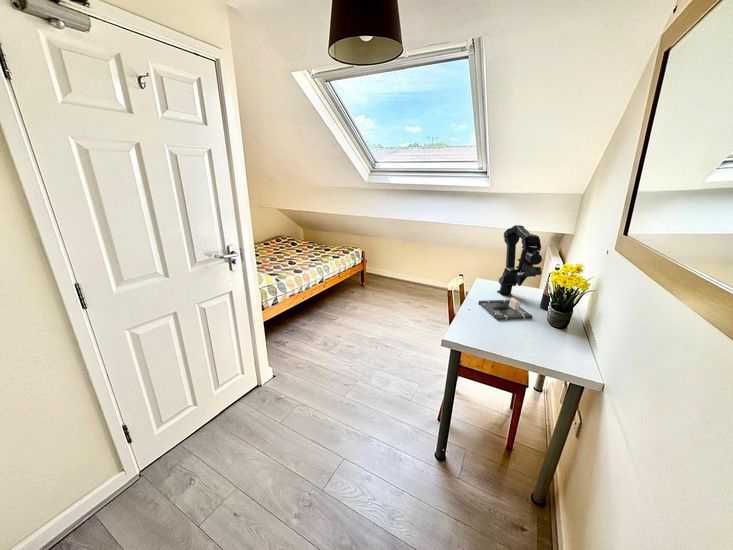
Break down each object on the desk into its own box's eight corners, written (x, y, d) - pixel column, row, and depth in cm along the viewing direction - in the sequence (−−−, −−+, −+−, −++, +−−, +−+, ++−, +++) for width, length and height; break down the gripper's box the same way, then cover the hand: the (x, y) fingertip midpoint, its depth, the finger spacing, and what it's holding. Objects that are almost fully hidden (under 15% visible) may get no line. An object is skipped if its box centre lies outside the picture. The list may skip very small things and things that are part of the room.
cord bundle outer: (495, 318, 151) (495, 315, 151) (529, 316, 155) (530, 313, 154) (497, 320, 149) (498, 317, 149) (532, 318, 153) (533, 315, 152)
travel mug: (550, 305, 168) (561, 273, 161) (557, 312, 161) (568, 278, 154) (536, 304, 169) (546, 271, 162) (542, 310, 162) (553, 277, 155)
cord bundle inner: (478, 303, 167) (478, 300, 166) (510, 302, 170) (510, 299, 169) (480, 305, 165) (480, 301, 164) (512, 304, 168) (513, 300, 167)
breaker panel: (480, 305, 164) (481, 302, 164) (512, 304, 168) (513, 301, 167) (494, 318, 151) (495, 315, 151) (529, 316, 155) (530, 313, 154)
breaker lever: (508, 305, 162) (510, 297, 160) (512, 305, 162) (514, 297, 160) (514, 310, 157) (516, 301, 156) (518, 309, 158) (520, 301, 156)
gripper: (520, 263, 148) (512, 292, 153) (552, 263, 151) (544, 291, 157) (506, 256, 158) (500, 283, 164) (537, 256, 161) (530, 283, 167)
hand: (519, 285), depth 162 cm, fingers closed
